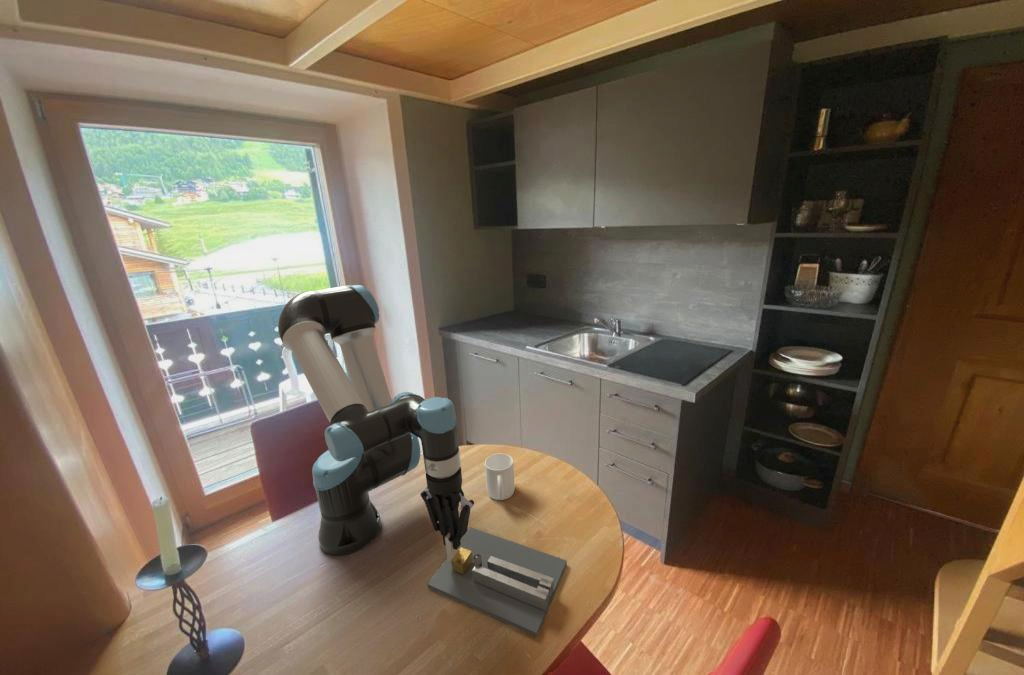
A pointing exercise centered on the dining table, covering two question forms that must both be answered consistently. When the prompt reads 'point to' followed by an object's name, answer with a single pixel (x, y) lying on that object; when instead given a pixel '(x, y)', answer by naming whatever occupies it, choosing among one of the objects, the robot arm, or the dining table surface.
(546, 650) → the dining table surface
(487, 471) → the mug
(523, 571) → the tongs jaw
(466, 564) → the tab
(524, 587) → the tongs fixed
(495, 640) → the dining table surface
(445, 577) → the board
